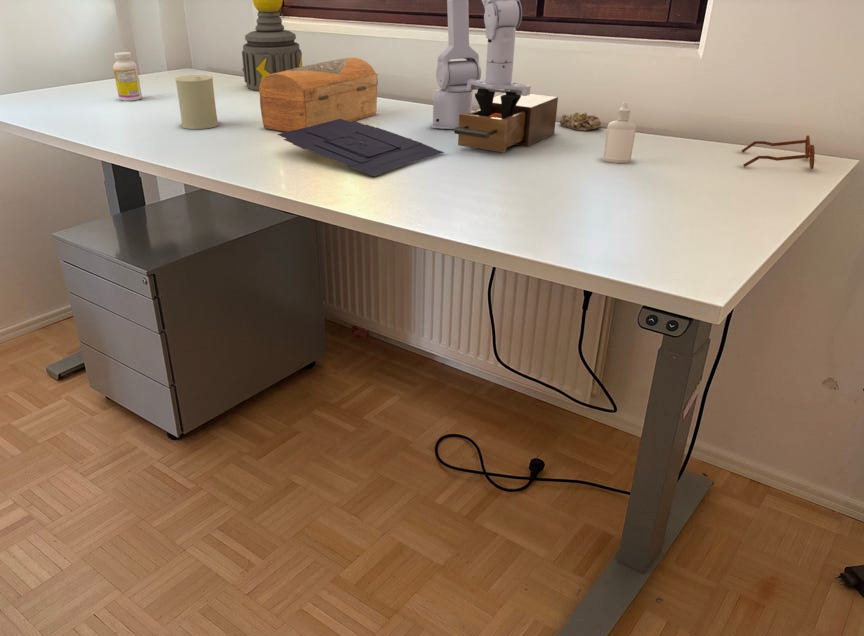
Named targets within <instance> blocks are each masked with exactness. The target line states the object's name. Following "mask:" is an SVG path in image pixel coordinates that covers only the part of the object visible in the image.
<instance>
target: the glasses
mask: <svg viewBox="0 0 864 636" xmlns="http://www.w3.org/2000/svg"><path fill="white" fill-rule="evenodd" d="M810 137H811V136H810V135H806V136H805V139H798V140H789V141H780V142H779V141H778V142H769V141H765V140H756V141H753V142H751V143H750V144H748V145H746V146H745V147H744V148H743V149H741V152H742V153H745V152H746V151H748V150H750V148H752V147H754V146H755V145H765V146H766V145H767V146H771V147H780V146H787V145H788V146H789V145H798V144H805V145H804V148H805V149H804V153H805V154H797V155H788V156H787V155H786V156H771V155H757V156H755V157H754V158H752V159H750V160H748V161H746V162H744V163H743V164H742V166H743V167H744V168H746V167H748V166H750V165H751V164H753V163H755V162H756V161H758V160H760V159H761V160H771V161H776V162H777V161H789V160H799V159H809V169H810V170H813V169H814V166H815V155H816V154H815V145H814V144H811V138H810Z"/></svg>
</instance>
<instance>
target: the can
mask: <svg viewBox="0 0 864 636" xmlns="http://www.w3.org/2000/svg"><path fill="white" fill-rule="evenodd" d="M174 79H175V84H176V85H175V86H176V91H177V97H178V104H179V111H180V119H181V127H182V128H183V129H186V130H207V129H212V128H216V127H217V126H219V121H218V114H217V107H216V106H217V105H216V100H215V99H216V98H215V90H214V78H213V76H211V75H208V74H207V75H206V74H191V75H189V74H188V75H182V76H177V77H176V78H174Z"/></svg>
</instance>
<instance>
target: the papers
mask: <svg viewBox="0 0 864 636" xmlns="http://www.w3.org/2000/svg"><path fill="white" fill-rule="evenodd" d="M276 135H277V136H279V137H281V138H283V140H284V141H285V142H288V143H290V144H292V145H293V146H295V147H297V148H301V149H303V150H307V151H309V152H312V153H315V154H316V155H319V156H322V157H325V158H326V159H327V158H328V159H330V160H333V161H335V162H337V163H339V164H342V165H345V166H347V167H349V168H351V169H352V170H353V169H354V170H356V171H359V172H361V173H364V174H366V175H369V176H372V177H375V176H379V175H381V174H384V173H387V172H389V171H393V170H395V169H397V168H400V167H403V166H405V165H408V164H411V163H414V162H417V161H421V160H425V159H427V158H431V157H435V156H437V155H441V154H444V153H445V151H442V150H439V149H437V148H434V147H432V146H429V145H427V144H424V143H423V142H420V141H418V140H415V139H411V138H409V137H407V136H403V135H399V134H398V133H395V132H391V131H389V130H386V129H383V128H380V127H377V126H376V127H375V126H372V125H369V124H364V123H361V122H358V121H353V122H348V121H346V120H343V119H337V120H333V121H329V122H325V123H322V124H318V125H314V126H310V127H306V128H302V129H297V130H293V131H289V132H285V131H284V132H281V133H277V134H276Z"/></svg>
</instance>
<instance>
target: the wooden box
mask: <svg viewBox="0 0 864 636" xmlns="http://www.w3.org/2000/svg"><path fill="white" fill-rule="evenodd" d="M378 79H379V78H378V73H376V71H375V69H374V67H373V66H372V65H371V64H369V62H367V61H366V60H364V59H362V58H359V57H344V58H338V59H334V60H328V61H323V62H318V63H314V64H307V65H304V66H303V65H302V67H298V68H294V69H291V70H287V71H282V72H278V73H273V74H270V75H268V76H266V77H265V78H264V79H263V80H262V81H261V83H260V85H259V91H258V92H259V105H260V113H261V120H262V126H263V128H264V129H268V130H274V131H280V132H284V133H285V132H289V131H293V130H297V129H302V128H306V127H310V126H314V125H318V124H322V123H325V122H329V121H333V120H337V119H343V120H346V121H348V122H353V121H355V122H357V121H359V120H363V119H366V118H369V117H373V116H376V115H377V103H378V84H379V80H378Z"/></svg>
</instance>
